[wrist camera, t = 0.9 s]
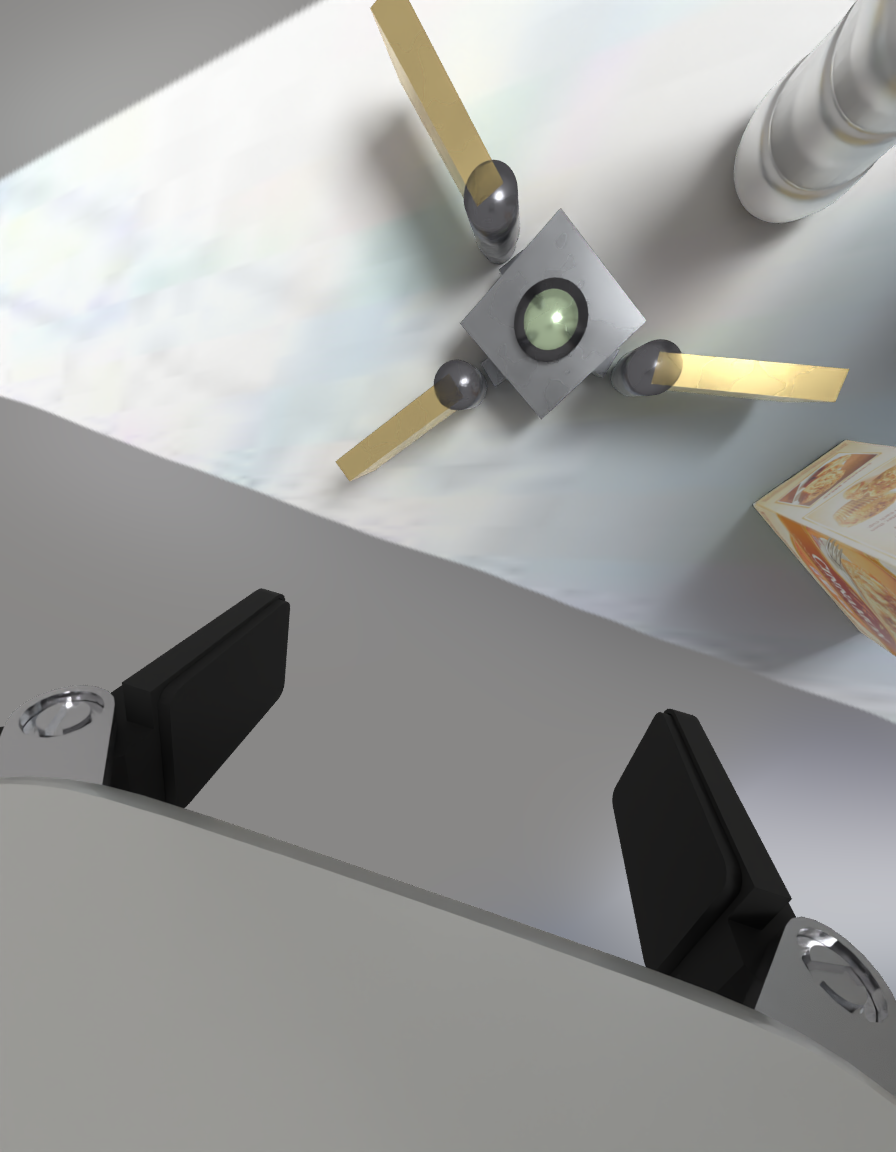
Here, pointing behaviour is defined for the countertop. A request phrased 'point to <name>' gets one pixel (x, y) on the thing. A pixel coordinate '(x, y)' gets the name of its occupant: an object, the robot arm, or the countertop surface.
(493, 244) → the brushed brass bar
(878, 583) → the coffeecake box
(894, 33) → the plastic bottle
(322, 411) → the countertop surface
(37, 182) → the countertop surface
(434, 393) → the tan block
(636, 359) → the knob
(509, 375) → the tribrach base
